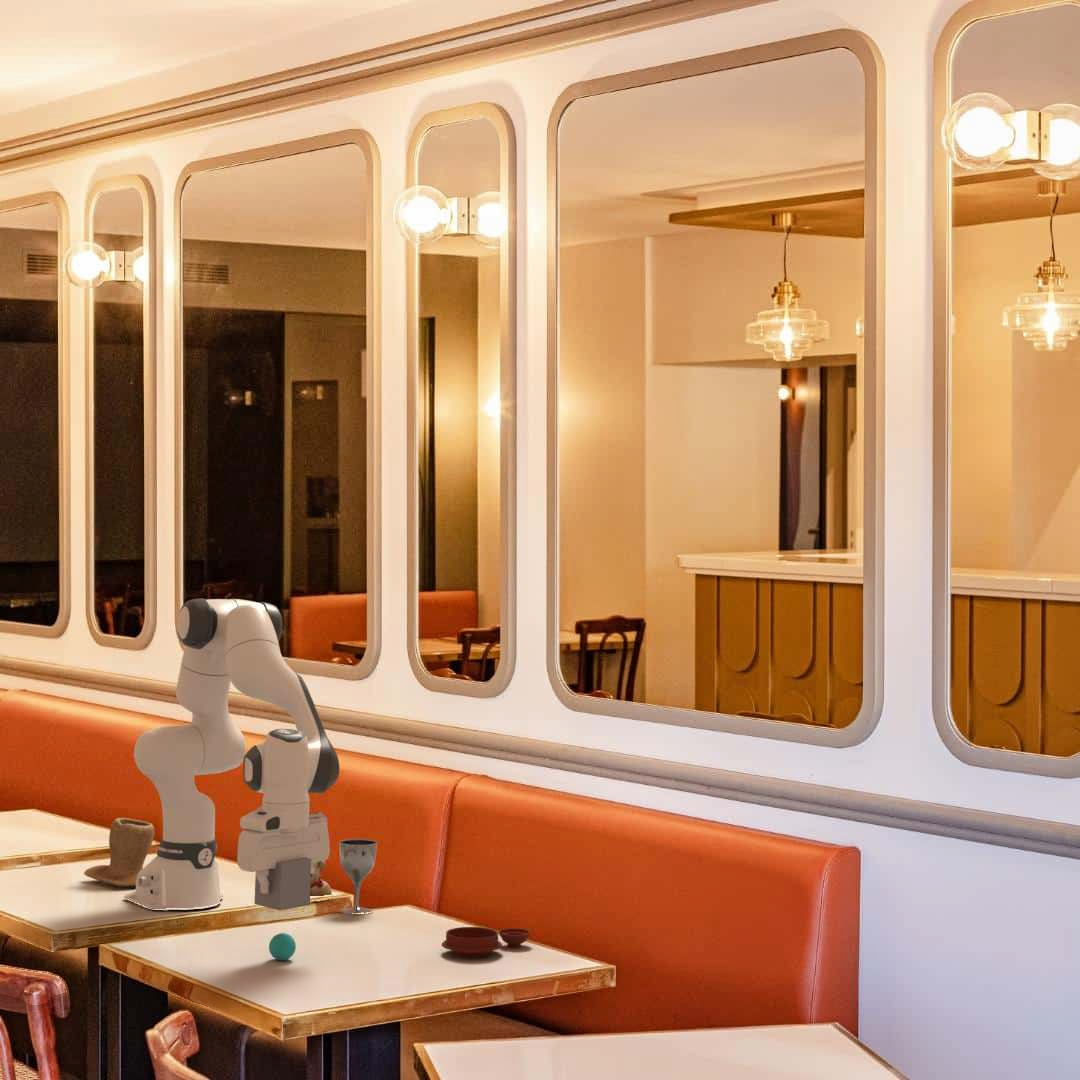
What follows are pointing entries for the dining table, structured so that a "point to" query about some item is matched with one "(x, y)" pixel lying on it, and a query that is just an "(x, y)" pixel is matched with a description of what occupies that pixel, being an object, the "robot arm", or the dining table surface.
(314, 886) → the chocolate bunny
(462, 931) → the pottery
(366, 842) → the wine glass
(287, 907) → the grey matte cube
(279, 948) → the ball
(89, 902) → the dining table surface
